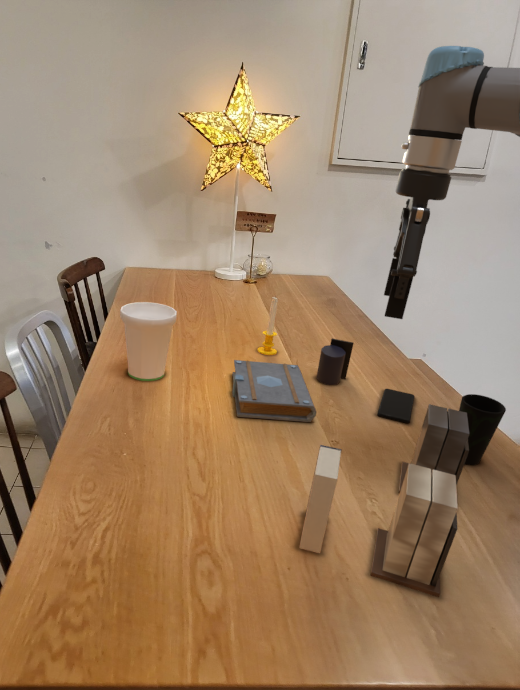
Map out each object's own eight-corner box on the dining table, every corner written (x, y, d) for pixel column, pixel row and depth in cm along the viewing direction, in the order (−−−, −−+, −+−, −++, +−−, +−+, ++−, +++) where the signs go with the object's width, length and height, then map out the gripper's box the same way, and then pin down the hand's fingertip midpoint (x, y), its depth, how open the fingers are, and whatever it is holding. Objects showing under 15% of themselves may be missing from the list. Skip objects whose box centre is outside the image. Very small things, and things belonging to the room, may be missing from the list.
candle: (268, 347, 149) (276, 292, 142) (280, 354, 145) (289, 297, 138) (253, 349, 146) (261, 293, 139) (265, 356, 142) (273, 299, 135)
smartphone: (377, 413, 117) (385, 387, 129) (376, 416, 117) (384, 390, 130) (410, 421, 115) (414, 394, 127) (409, 424, 115) (413, 397, 128)
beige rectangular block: (325, 520, 84) (341, 449, 78) (320, 554, 77) (337, 479, 71) (305, 515, 84) (320, 444, 78) (298, 548, 77) (314, 473, 71)
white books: (438, 550, 80) (466, 474, 74) (438, 598, 71) (470, 516, 65) (376, 532, 82) (399, 456, 76) (370, 576, 74) (394, 495, 68)
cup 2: (456, 469, 101) (476, 413, 96) (436, 447, 108) (453, 393, 102) (493, 468, 102) (515, 413, 97) (470, 447, 109) (489, 394, 104)
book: (314, 424, 111) (318, 402, 109) (234, 418, 110) (237, 396, 108) (298, 381, 130) (301, 362, 128) (230, 375, 129) (232, 356, 127)
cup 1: (168, 362, 132) (172, 302, 125) (177, 385, 122) (181, 320, 115) (117, 363, 129) (117, 301, 122) (121, 385, 118) (122, 319, 111)
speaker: (325, 370, 137) (333, 334, 131) (346, 379, 134) (355, 342, 128) (310, 381, 132) (318, 344, 126) (331, 390, 129) (340, 352, 123)
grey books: (451, 478, 98) (475, 412, 92) (453, 509, 90) (479, 438, 83) (401, 464, 100) (420, 399, 94) (398, 494, 92) (419, 424, 86)
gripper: (398, 164, 93) (370, 285, 102) (404, 170, 71) (368, 323, 80) (443, 169, 91) (411, 291, 101) (464, 177, 69) (420, 332, 79)
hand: (392, 306), depth 91 cm, fingers open, 13 cm apart
